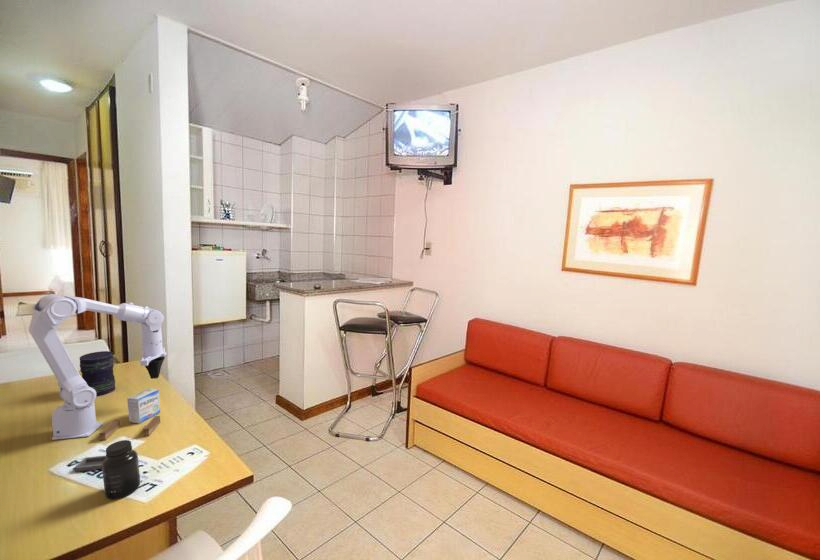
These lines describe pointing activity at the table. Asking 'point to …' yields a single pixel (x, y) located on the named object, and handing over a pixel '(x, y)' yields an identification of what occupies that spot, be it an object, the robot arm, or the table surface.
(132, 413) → the medicine box
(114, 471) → the supplement bottle
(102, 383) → the storage jar
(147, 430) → the lane wall right
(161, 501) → the table surface
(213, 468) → the table surface
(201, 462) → the table surface
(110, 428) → the lane wall left
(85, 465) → the dark grey flat tray
